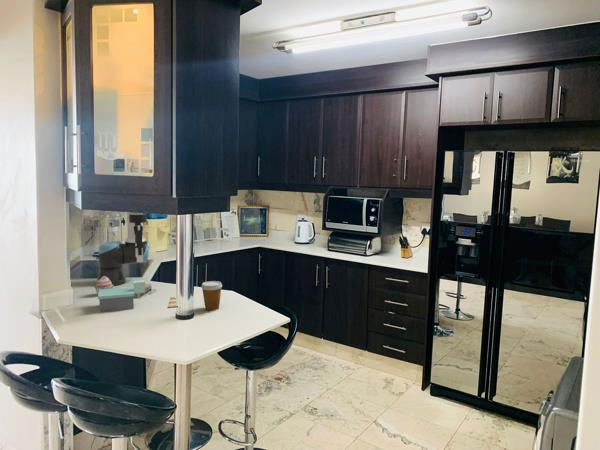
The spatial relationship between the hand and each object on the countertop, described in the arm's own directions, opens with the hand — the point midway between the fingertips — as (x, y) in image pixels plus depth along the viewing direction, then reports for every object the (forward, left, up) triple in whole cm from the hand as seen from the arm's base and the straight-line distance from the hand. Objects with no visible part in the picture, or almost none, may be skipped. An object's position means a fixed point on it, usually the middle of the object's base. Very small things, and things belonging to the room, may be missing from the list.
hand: (139, 259), depth 210 cm
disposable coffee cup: (+15, +30, -23) cm, 41 cm away
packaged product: (-20, 0, -23) cm, 31 cm away
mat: (-1, +9, -23) cm, 24 cm away
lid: (0, -8, -16) cm, 17 cm away
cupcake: (-27, -17, -23) cm, 39 cm away
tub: (0, -11, -23) cm, 25 cm away
